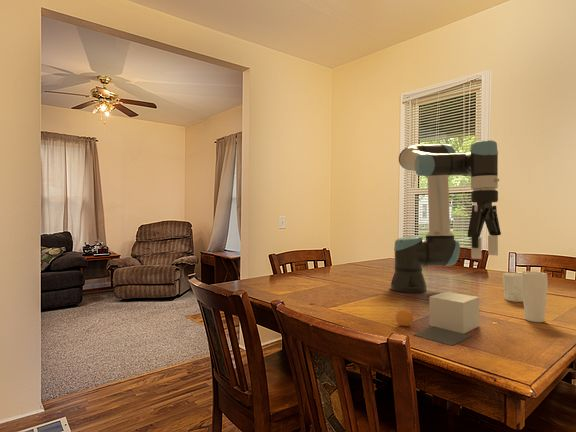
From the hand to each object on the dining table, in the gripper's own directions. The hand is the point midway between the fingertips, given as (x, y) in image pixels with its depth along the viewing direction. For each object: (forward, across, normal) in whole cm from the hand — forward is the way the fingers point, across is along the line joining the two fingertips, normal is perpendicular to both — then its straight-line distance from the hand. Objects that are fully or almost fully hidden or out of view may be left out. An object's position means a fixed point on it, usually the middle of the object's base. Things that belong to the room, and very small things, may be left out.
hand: (485, 257), depth 117 cm
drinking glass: (+20, +10, -11) cm, 25 cm away
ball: (+18, -24, +14) cm, 33 cm away
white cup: (+20, +36, +2) cm, 41 cm away
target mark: (+20, -24, +2) cm, 32 cm away
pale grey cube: (+20, -13, +4) cm, 24 cm away
